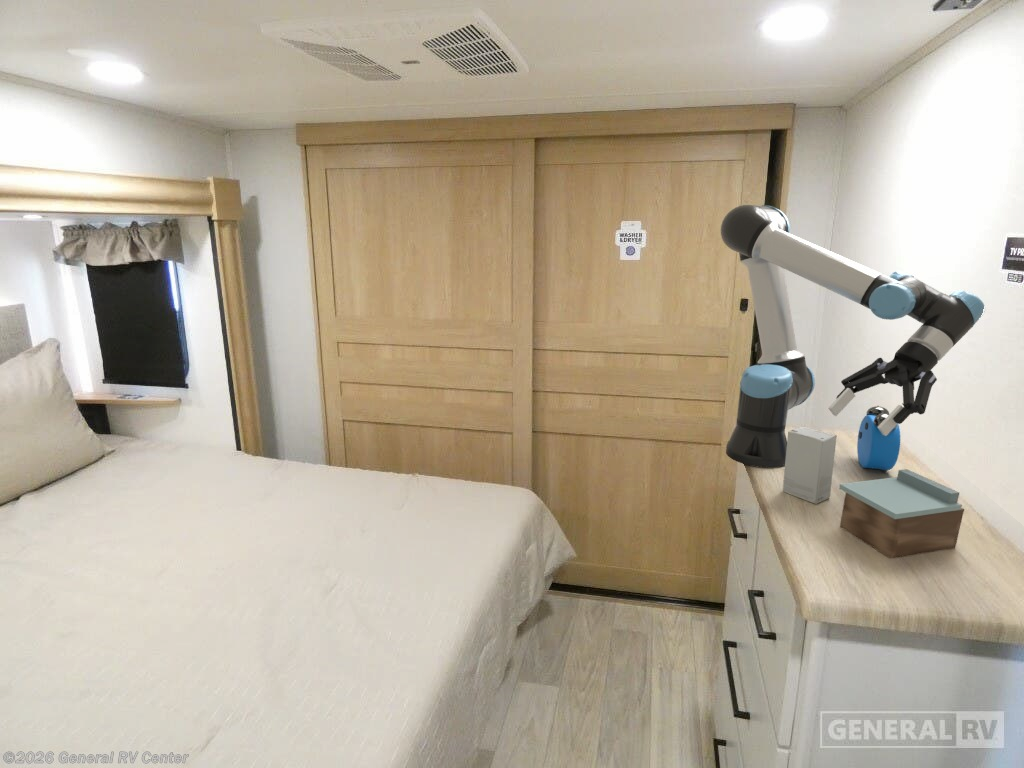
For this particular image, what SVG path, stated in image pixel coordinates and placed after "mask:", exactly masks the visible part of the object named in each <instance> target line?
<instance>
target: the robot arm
mask: <svg viewBox="0 0 1024 768" xmlns="http://www.w3.org/2000/svg"><path fill="white" fill-rule="evenodd" d="M790 227H791V226H790V221H789V219H788V217H787V214H785V213H784V212H783V211H782V210H780V209H778V208H776V207H774V206H771V205H767V204H762V205H755V204H753V205H752V204H742V205H738V206H736V207H734V208H733V209H731V210H730V211H729V212H727V213H726V215H725V216H724V217H723V220H722V222H721V226H720V236H721V239H722V241H723V243H724V244H725V246H727V248H728V249H730V250H732V251H734V252H737V253H739V254H738V255H739V261H740V263H741V264H742V265H744V266H745V267H746V268H747V271H748V277H749V284H750V288H751V293H752V302H753V306H754V313H755V319H756V325H757V329H758V335H759V341H760V348H761V356H760V358H759V359H758V361H757V364H754V365H751V366H749V367H746V368H745V370H744V371H742V376H741V378H740V382H739V385H740V386H739V395H738V396H739V397H738V405H737V414H736V415H737V416H736V424H735V427H734V429H733V431H732V433H731V436H730V437H729V440H728V442H727V443H726V449H725V453H726V456H727V457H728V458H730V459H731V460H733V461H735V462H737V463H740V464H744V465H746V466H751V467H756V466H758V468H780V467H785V460H786V449H787V436H786V427H787V419H788V411H789V410H791V409H793V408H794V407H797V406H799V405H800V406H801V405H802V404H803V403H804V402H806V401H807V399H808V398H810V396H811V394H813V391H814V389H815V384H816V379H815V375H814V373H813V371H812V369H811V368H810V367H809V366H807V363H806V358H805V357H806V356H805V354H804V353H803V352H801V351H800V350H799V349H798V347H797V339H796V335H795V328H794V323H793V316H792V312H791V311H792V309H791V304H790V300H789V299H790V298H789V292H788V286H787V280H786V275H785V270H786V271H789V272H791V273H793V274H795V275H797V276H799V277H801V278H804V279H805V280H807V281H810V282H812V283H814V284H816V285H819V286H820V287H822V288H825V289H827V290H829V291H832V292H833V293H835V294H837V295H840V296H842V297H845V298H846V299H848V300H851V301H852V302H855V303H857V304H859V305H861V306H862V307H863V306H864V307H865V308H867V309H869V310H870V311H871V313H872V314H873V315H875V316H876V317H877V318H880V319H882V320H897V319H901V318H904V317H906V316H908V317H910V318H912V319H914V320H915V321H916V322H919V323H921V326H919V328H917V330H915V332H914V333H913V334H912V335H911V336H910V337H909V338H908V339H907V341H905V343H903V344H902V345H901V346H900V347H899V349H898V350H896V352H895V354H894V357H893V359H892V360H890V361H889V362H887V361H885V360H884V359H883V358H882V357H878V358H876V359H875V360H874V361H873V362H872V363H870V364H868V365H867V366H865V367H862V369H860V370H858V371H856V372H854V373H853V374H851V375H849V376H847V377H845V378H844V379H842V380H841V384H842V385H843V387H844V388H843V389H842V391H841V392H839V394H838V395H837V396H836V398H835V400H834V401H833V402H832V403H831V404H830V406H828V409H829V410H828V411H830V412H831V414H832V415H833V417H837V416H838V415H839V414H840V413H841V412H842V411H843V410H844V409H845V407H847V405H849V404H850V403H851V401H852V400H853V399H854V398H855V397H856V394H855V393H858V392H862V391H864V390H868V389H869V388H873V387H875V386H878V385H885V384H890V385H896V386H898V387H900V388H902V401H903V402H902V403H901V404H898V405H896V407H895V408H894V409H893V410H892V411H891V412H889V415H888V416H887V417H886V418H885V420H884V421H883V422H882V423H881V424H880V425H879V426H878V427H877V428H878V429H879V430H880V432H881V433H882V434H883V435H884V436H887V435H888V434H889V432H890V431H891V430H892V429H893V428H894V427H895V426H896V425H897V424H898V425H901V424H902V423H903V422H905V420H906V419H908V417H909V416H910V415H913V414H919V415H924V414H925V413H926V410H927V406H928V401H929V398H930V394H931V390H932V388H933V386H934V384H935V383H936V382H937V380H938V379H937V377H936V376H935V373H933V371H932V369H933V368H934V367H936V366H937V364H938V362H939V361H940V360H942V358H944V357H945V356H946V355H947V353H948V352H950V350H951V349H952V348H953V347H954V346H955V345H956V344H957V343H958V342H959V341H961V339H962V338H963V337H964V336H965V335H966V334H967V333H968V332H969V331H970V330H971V329H973V327H974V325H976V323H978V321H979V320H980V319H981V317H982V316H983V315H982V313H983V309H984V306H985V304H984V302H983V300H981V299H980V297H978V296H977V295H975V294H974V293H972V292H967V291H965V290H957V291H954V292H952V293H950V294H949V295H948V294H946V293H943V292H941V291H939V290H938V289H936V288H934V287H932V286H930V285H929V284H927V283H925V282H923V281H921V280H919V279H918V278H916V277H915V276H913V275H911V274H908V273H906V272H904V271H901V270H896V271H893V272H892V274H890V275H889V276H888V275H885V274H883V273H881V272H878V271H876V270H874V269H871V268H869V267H867V266H865V265H864V264H863V265H862V264H860V263H858V262H856V261H853V260H851V259H849V258H846V257H844V256H842V255H839V254H837V253H835V252H833V251H830V250H828V249H826V248H823V247H821V246H819V245H817V244H815V243H812V242H810V241H807V240H805V239H803V238H801V237H798V236H796V235H794V234H792V233H790V230H791V229H790ZM981 315H982V316H981ZM979 318H980V319H979ZM919 380H920V381H919ZM918 381H919V384H918V387H917V391H916V394H915V382H918Z"/></svg>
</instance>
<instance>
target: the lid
mask: <svg viewBox="0 0 1024 768" xmlns="http://www.w3.org/2000/svg"><path fill="white" fill-rule="evenodd" d="M838 488H839V489H838V490H841V491H842V492H844V493H845V494H846V493H848V494H850V495H851V496H853V497H855V498H857V499H859V500H861V501H862V502H864V503H866V504H868V505H870V506H872V507H873V508H875V509H877V510H879V511H881V512H883V513H884V514H886V515H888V516H890V517H892V518H894V519H901V518H907V517H914V516H921V515H928V514H935V513H942V512H949V511H955V510H961V508H962V507H963V504H961V503H959V502H958V501H959V498H960V497H959V496H960V492H959V491H958V490H955V489H952V488H950V487H949V486H946V485H943V484H941V483H940V482H937V481H935V480H932V479H930V478H928V477H926V476H924V475H921V474H919V473H917V472H914V471H912V470H910V469H907V468H902V469H898V472H897V476H894V477H893V476H892V477H887V478H886V477H884V478H879V479H878V478H877V479H870V480H862V481H854V482H846V483H845V482H844V483H839V487H838Z"/></svg>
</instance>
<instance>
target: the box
mask: <svg viewBox="0 0 1024 768" xmlns="http://www.w3.org/2000/svg"><path fill="white" fill-rule="evenodd" d="M843 500H844V502H843V505H842V510H841V511H842V512H841V517H840V518H841V519H840V524H839V528H841V529H842V530H844V531H846V532H847V533H849V534H851V535H852V536H854V537H855V538H856V539H858V540H860V541H861V542H864V543H865V544H867V545H868V546H870V547H871V548H873V549H875V550H876V551H878V552H879V553H881V554H882V555H884V556H885V557H887V558H889V559H898V558H903V557H909V556H916V555H922V554H928V553H934V552H939V551H945V550H946V551H947V550H952V549H956V546H957V542H958V537H959V534H960V529H961V525H962V521H963V516H964V512H965V509H964V508H962V507H961V510H955V511H949V512H942V513H935V514H928V515H921V516H914V517H907V518H901V519H894V518H892V517H890V516H888V515H886V514H884V513H883V512H881V511H879V510H877V509H875V508H873V507H872V506H870V505H868V504H866V503H864V502H862V501H861V500H859V499H857V498H855V497H853V496H851V495H850V494H848V493H846V492H845V494H844V499H843Z"/></svg>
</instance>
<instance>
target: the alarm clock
mask: <svg viewBox="0 0 1024 768" xmlns="http://www.w3.org/2000/svg"><path fill="white" fill-rule="evenodd" d="M865 414H866V415H865V416H864V417H863V418H862V420H861V422H860V424H859V429H858V435H857V445H856V446H857V458H858V462H859V464H860V466H861V467H862V468H864V469H865V468H866V469H873V470H874V469H875V470H883V471H884V472H885V474H887V475H888V471H890V470H892V469H893V468H894V467H895V465H896V464H897V461H898V459H899V455H900V449H901V431H900V430H901V429H900V424H897V425H896V426H895V427H894V428H893V429H892V430H891V431H890V432H889V434H888V435H887V436H884V435H883V434H882V433H881V432H880V430H879V429H878V428H877V427H878V426H879V425H880V424H881V423H882V422H883V421H884V420H885V418H886V417H887V416H888V415H889V414H890V411H889V410H888V409H887V408H886V407H883V406H880V405H877V406H871V407H869V408H868V409H867V410H866V413H865Z"/></svg>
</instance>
